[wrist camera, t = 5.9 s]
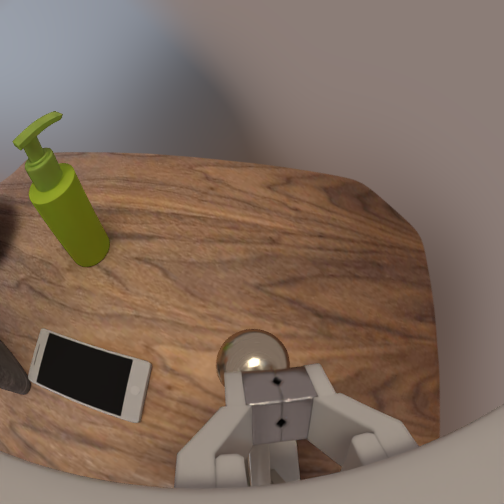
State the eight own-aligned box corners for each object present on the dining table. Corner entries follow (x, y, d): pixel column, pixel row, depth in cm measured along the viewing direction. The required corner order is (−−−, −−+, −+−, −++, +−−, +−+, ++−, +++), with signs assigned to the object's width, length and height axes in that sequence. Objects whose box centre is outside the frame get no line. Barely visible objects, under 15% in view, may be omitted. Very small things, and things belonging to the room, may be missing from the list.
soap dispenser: (122, 237, 38) (71, 113, 21) (89, 274, 35) (11, 162, 18) (97, 218, 40) (45, 104, 23) (65, 252, 36) (-6, 145, 19)
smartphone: (140, 424, 27) (137, 424, 26) (30, 380, 27) (26, 379, 26) (152, 363, 30) (150, 361, 29) (44, 329, 31) (41, 326, 30)
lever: (214, 326, 16) (212, 337, 12) (280, 322, 16) (295, 331, 13) (235, 526, 14) (238, 559, 11) (286, 521, 15) (296, 552, 11)
